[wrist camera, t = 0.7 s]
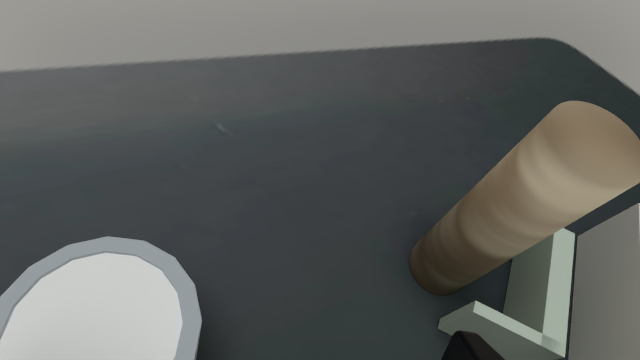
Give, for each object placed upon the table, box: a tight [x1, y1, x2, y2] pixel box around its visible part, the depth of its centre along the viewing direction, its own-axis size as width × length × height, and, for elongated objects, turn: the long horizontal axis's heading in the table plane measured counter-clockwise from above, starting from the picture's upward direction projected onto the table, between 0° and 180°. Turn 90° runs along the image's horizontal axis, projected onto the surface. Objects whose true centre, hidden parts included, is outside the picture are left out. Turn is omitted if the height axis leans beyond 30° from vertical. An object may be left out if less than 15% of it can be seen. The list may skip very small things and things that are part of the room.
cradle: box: [438, 228, 575, 360], centre depth 23 cm, size 5×7×4 cm, turn 156°
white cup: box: [0, 237, 202, 360], centre depth 16 cm, size 7×7×7 cm
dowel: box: [409, 101, 640, 295], centre depth 19 cm, size 4×4×13 cm
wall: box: [568, 203, 640, 360], centre depth 22 cm, size 2×14×5 cm, turn 156°
